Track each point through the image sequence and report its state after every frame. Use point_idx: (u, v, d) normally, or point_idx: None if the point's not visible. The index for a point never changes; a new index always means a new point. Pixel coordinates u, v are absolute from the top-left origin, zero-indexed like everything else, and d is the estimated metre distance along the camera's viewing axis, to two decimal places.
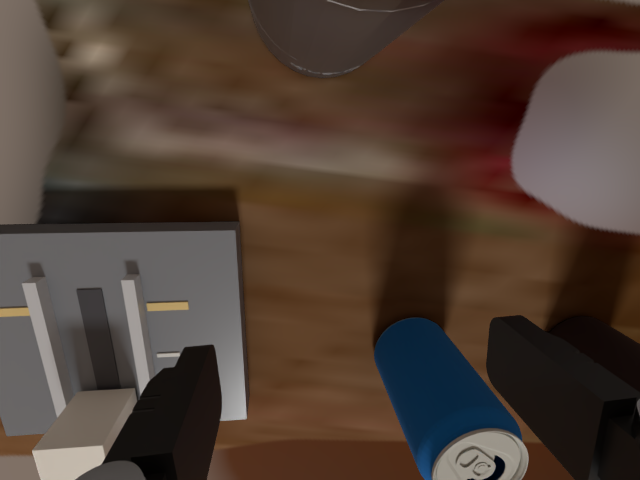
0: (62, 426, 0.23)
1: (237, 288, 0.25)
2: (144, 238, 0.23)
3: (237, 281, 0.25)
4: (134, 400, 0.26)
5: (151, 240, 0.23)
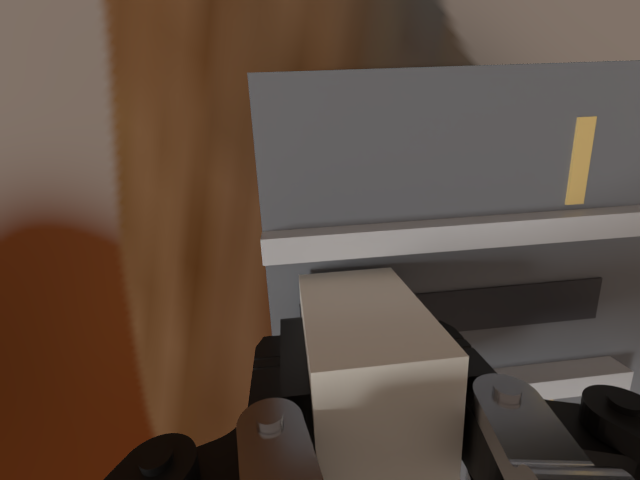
0: None
1: None
2: None
3: None
4: None
5: None
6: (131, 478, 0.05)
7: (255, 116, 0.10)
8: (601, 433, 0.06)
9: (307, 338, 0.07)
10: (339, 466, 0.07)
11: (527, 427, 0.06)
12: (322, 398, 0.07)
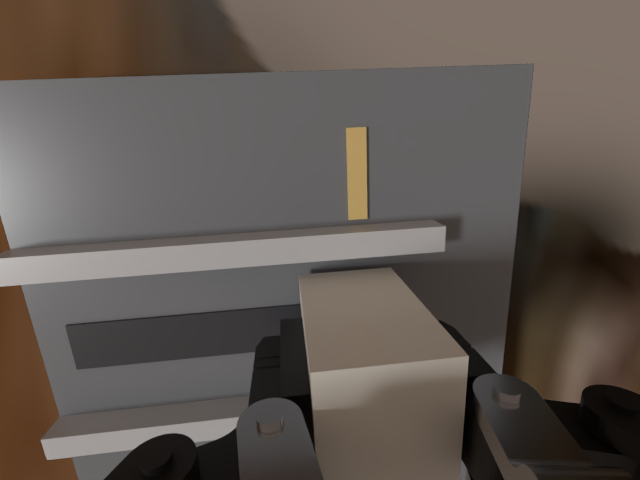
0: None
1: None
2: None
3: None
4: None
5: None
6: (131, 478, 0.05)
7: None
8: (601, 433, 0.06)
9: (307, 338, 0.07)
10: (339, 466, 0.07)
11: (527, 427, 0.06)
12: (321, 398, 0.07)
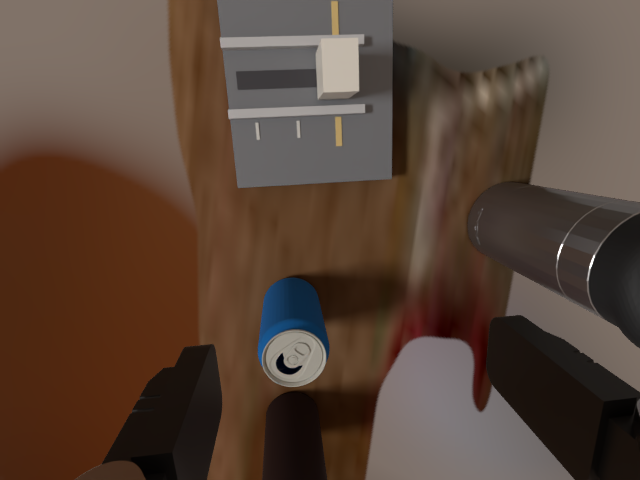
0: None
1: (351, 180, 0.37)
2: (387, 119, 0.35)
3: (356, 180, 0.37)
4: (340, 98, 0.34)
5: (386, 123, 0.35)
6: None
7: None
8: None
9: None
10: (327, 68, 0.29)
11: None
12: (323, 46, 0.28)
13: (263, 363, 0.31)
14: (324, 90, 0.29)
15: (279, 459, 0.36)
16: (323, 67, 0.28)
